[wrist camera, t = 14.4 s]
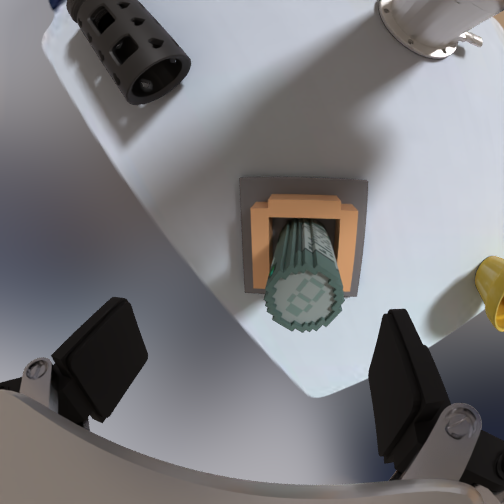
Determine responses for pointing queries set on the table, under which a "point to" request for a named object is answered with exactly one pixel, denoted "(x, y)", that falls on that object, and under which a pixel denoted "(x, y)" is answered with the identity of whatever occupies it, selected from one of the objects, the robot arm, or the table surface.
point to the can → (304, 278)
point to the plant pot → (492, 289)
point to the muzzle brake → (131, 47)
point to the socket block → (302, 206)
